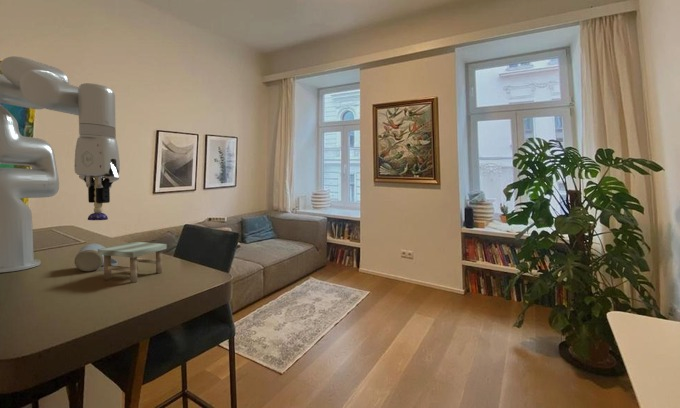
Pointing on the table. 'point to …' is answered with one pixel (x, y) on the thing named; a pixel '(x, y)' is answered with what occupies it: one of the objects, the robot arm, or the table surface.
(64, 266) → the table surface
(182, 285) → the table surface
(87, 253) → the ceramic mug
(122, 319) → the table surface
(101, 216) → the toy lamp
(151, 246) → the footstool
